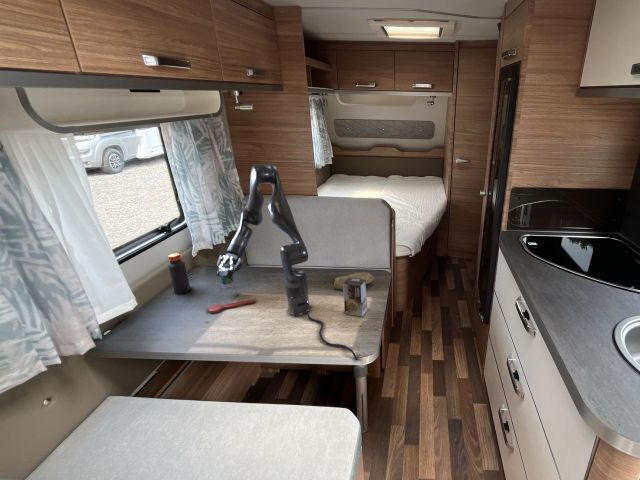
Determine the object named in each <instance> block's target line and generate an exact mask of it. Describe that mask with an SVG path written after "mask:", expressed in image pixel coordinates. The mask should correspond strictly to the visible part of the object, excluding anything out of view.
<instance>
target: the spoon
mask: <svg viewBox="0 0 640 480" xmlns="http://www.w3.org/2000/svg"><path fill="white" fill-rule="evenodd" d="M251 304H252V305H253V304H255V298H252V299H247V300H242V301H235V302H231V303H225V304H222V303H215V304H212V305H210V306H208V308H207V312H208V313H210V314H216V313H219V312H221V311H222V310H227V309H231V308H236V307H242V306H246V305H251Z"/></svg>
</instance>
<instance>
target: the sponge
mask: <svg viewBox="0 0 640 480" xmlns="http://www.w3.org/2000/svg"><path fill="white" fill-rule="evenodd" d="M349 277H350V278H357V279H364V280H366V285H369V284H371V283H372V282H373V281H374V274H371V273H370V272H364V271H363V272H352V273H350V274H349V275H341V276H337V277H335V279H334V282H333V287H334V288H335V290H343V283H344V282H345V281H346V280H347V278H349Z"/></svg>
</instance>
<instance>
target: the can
mask: <svg viewBox="0 0 640 480" xmlns="http://www.w3.org/2000/svg"><path fill="white" fill-rule="evenodd" d="M223 266H224V265H223ZM230 267H231V266H230V265H228V266H224V267H221V268H219V267H218V269H219V275H220V276H219V279H220V284H221V288H222V289H223V290H229V289H232V288H234V287H235V280H234V279H235V278H234V274H233V275H232V277H231V278H230V279H229V278H227V277H226V276H227V274H228V272H229V270H230Z"/></svg>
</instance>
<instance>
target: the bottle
mask: <svg viewBox="0 0 640 480" xmlns="http://www.w3.org/2000/svg"><path fill="white" fill-rule="evenodd" d="M167 259H168V261H169V264H168V265H167V267H168V272H169V276H170V279H171V283H172V287H173V291H174V293H175V294H177V295H178V294H185V293H188V292H189V291H190V290H191V284H190V281H189V276H188V271H187V268H186V264H185V262H184V261H183V260H181V259H182V258H181V254H180V253H178V252H174V253H170V254H168V255H167Z"/></svg>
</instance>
